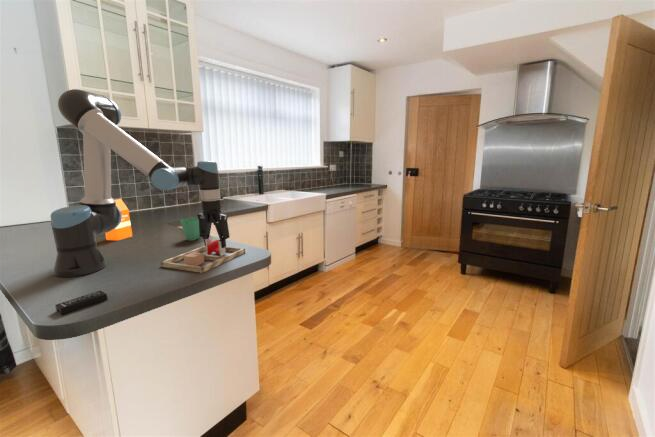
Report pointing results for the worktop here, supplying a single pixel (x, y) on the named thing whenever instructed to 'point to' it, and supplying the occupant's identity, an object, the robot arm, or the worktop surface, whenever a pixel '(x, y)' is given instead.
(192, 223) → the mug
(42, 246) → the worktop surface
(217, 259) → the rack
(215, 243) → the red rounded oval lump
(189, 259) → the block
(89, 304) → the multiport hub
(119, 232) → the orange juice
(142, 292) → the worktop surface
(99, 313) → the worktop surface
